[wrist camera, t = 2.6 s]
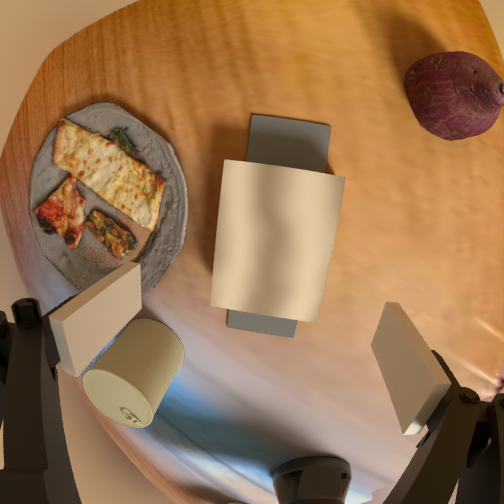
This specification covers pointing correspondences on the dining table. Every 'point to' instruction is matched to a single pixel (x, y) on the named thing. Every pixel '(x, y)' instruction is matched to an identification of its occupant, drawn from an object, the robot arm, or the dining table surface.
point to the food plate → (106, 195)
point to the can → (135, 373)
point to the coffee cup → (235, 503)
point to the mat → (286, 155)
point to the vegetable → (454, 94)
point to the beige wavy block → (274, 239)
